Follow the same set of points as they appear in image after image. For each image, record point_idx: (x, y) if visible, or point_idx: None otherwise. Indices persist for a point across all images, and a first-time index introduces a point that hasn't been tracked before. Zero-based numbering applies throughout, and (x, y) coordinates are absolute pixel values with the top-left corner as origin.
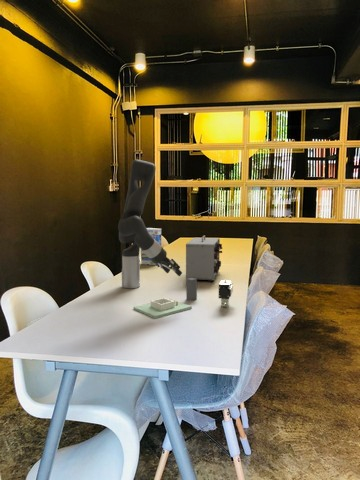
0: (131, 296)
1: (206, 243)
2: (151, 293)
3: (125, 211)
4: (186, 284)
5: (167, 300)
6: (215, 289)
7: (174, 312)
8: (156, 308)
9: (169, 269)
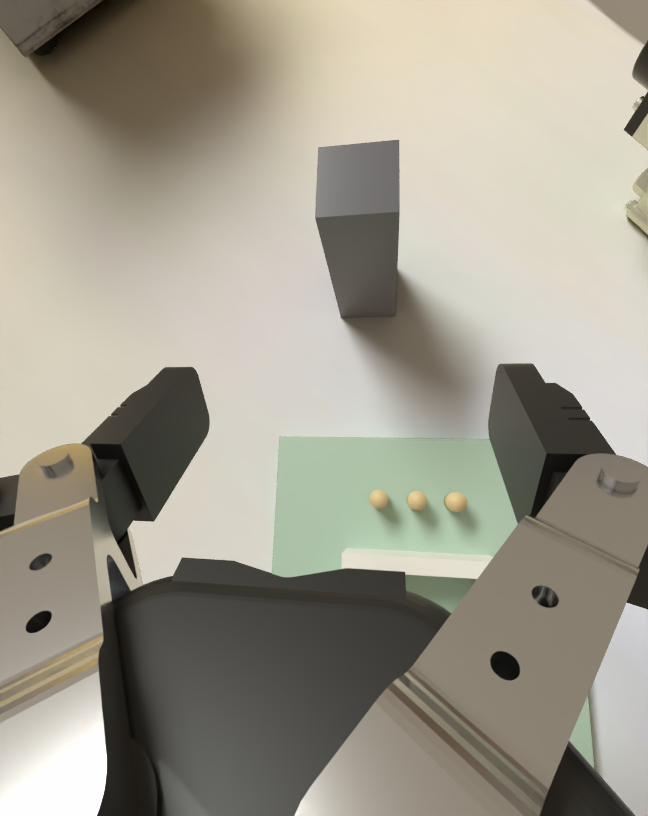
0: None
1: None
2: (62, 417)
3: None
4: (325, 255)
5: (413, 573)
6: (306, 40)
7: None
8: None
9: (187, 378)
